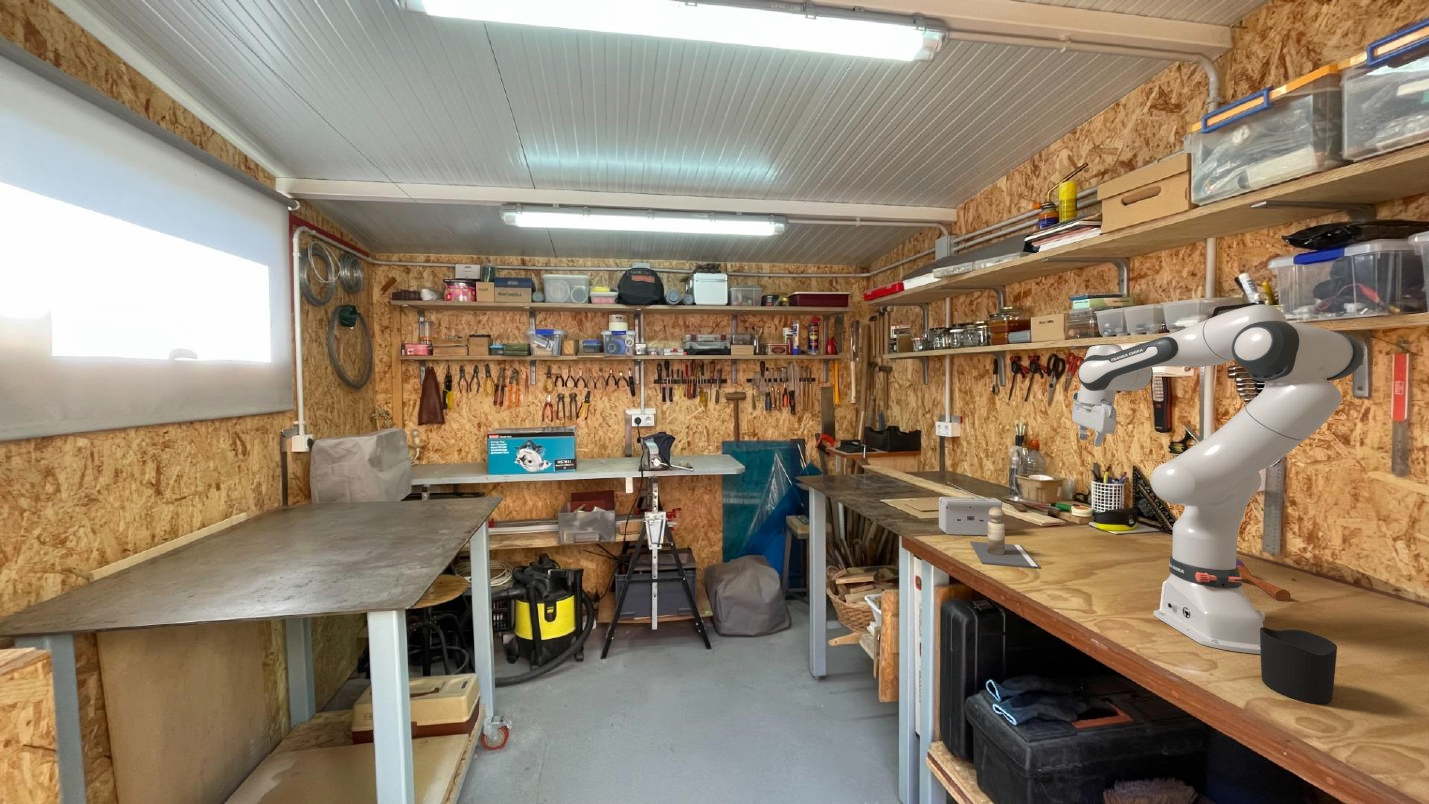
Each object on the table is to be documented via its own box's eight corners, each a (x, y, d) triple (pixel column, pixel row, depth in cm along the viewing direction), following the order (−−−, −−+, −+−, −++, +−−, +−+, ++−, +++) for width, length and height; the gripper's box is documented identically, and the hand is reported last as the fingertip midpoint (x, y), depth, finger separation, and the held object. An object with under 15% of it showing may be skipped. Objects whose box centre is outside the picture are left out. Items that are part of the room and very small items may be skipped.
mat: (1040, 568, 159) (1040, 566, 159) (982, 563, 164) (982, 561, 164) (1021, 546, 180) (1021, 545, 180) (970, 543, 185) (970, 541, 185)
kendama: (1267, 586, 134) (1210, 554, 154) (1270, 608, 135) (1212, 574, 154) (1295, 583, 133) (1233, 552, 152) (1298, 605, 133) (1236, 571, 153)
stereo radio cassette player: (995, 531, 199) (995, 479, 198) (1004, 537, 191) (1004, 483, 190) (938, 529, 202) (938, 478, 201) (944, 535, 194) (944, 482, 193)
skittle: (1006, 555, 169) (1006, 509, 169) (989, 554, 171) (989, 508, 170) (1002, 550, 174) (1003, 505, 173) (986, 549, 176) (986, 504, 175)
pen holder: (1332, 713, 89) (1334, 656, 89) (1254, 687, 97) (1255, 635, 97) (1338, 693, 95) (1339, 639, 94) (1263, 671, 102) (1264, 621, 102)
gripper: (1126, 403, 146) (1118, 451, 148) (1092, 394, 166) (1086, 437, 168) (1101, 401, 148) (1093, 449, 150) (1070, 393, 167) (1064, 435, 169)
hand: (1089, 442), depth 159 cm, fingers open, 8 cm apart
